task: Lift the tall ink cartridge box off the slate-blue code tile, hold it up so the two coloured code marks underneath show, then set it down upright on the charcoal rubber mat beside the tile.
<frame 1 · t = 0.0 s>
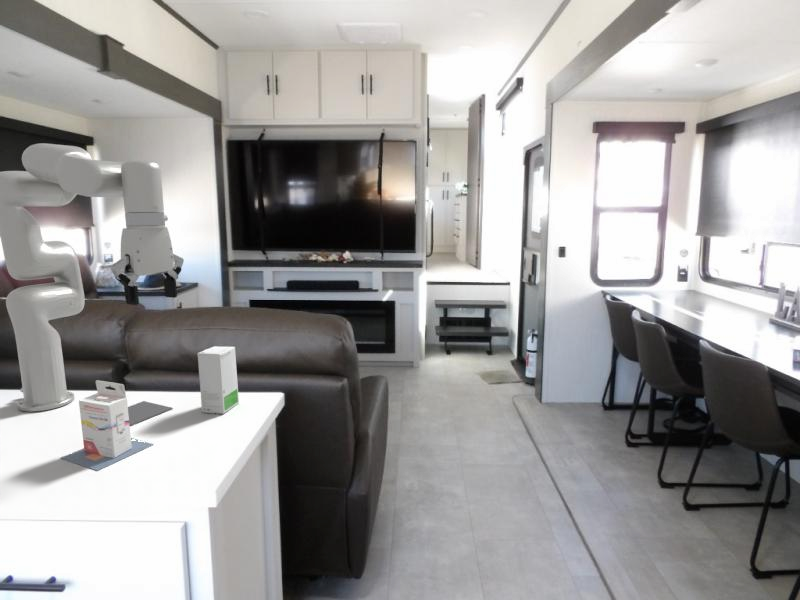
hand: (152, 300, 116), 31 cm above the table, tool pointing down, fingers open, 9 cm apart
skincare box: (220, 408, 138), on the table
ink cartridge box: (108, 451, 113), resting on code tile
code tile: (108, 451, 113), on the table
rubber mat: (137, 413, 134), on the table
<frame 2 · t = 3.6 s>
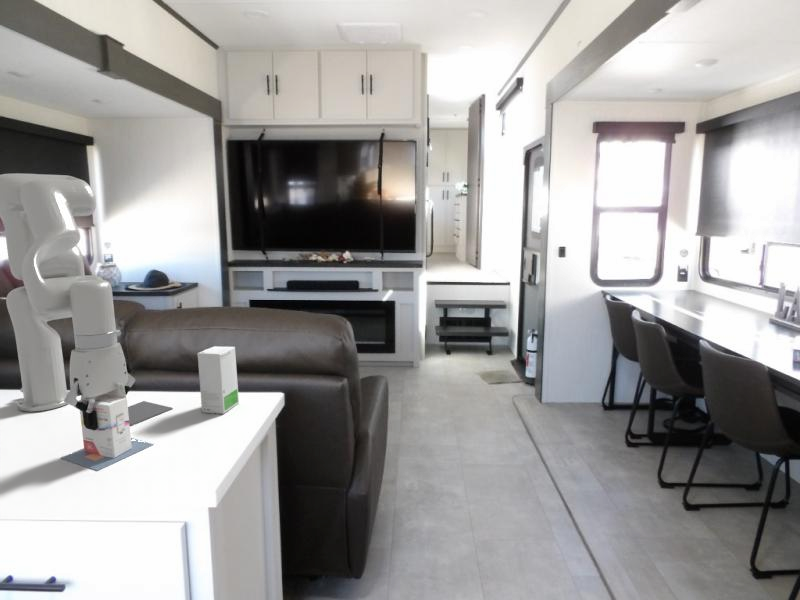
hand: (105, 422, 112), 6 cm above the table, tool pointing down, fingers closed on ink cartridge box, 5 cm apart
ink cartridge box: (108, 451, 113), resting on code tile, touching gripper
everything else where it was.
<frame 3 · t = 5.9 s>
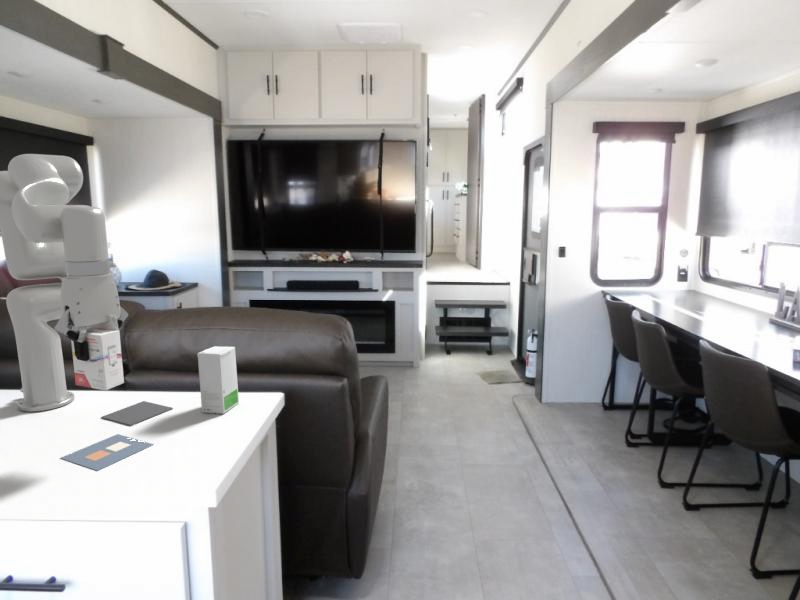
hand: (97, 355, 110), 21 cm above the table, tool pointing down, fingers closed on ink cartridge box, 5 cm apart
ink cartridge box: (100, 385, 111), point 15 cm above the table, touching gripper
everything else where it was.
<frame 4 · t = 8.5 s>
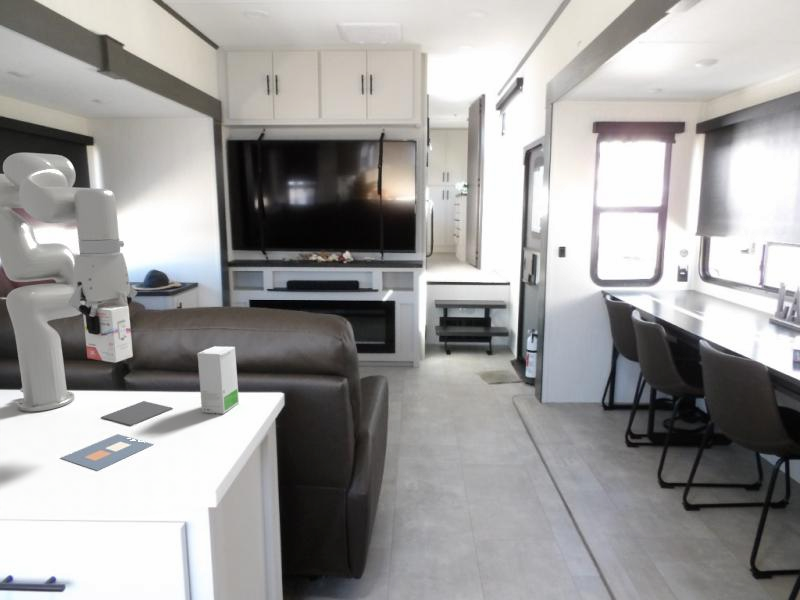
hand: (107, 329, 116), 25 cm above the table, tool pointing down, fingers closed on ink cartridge box, 5 cm apart
ink cartridge box: (110, 358, 117), point 18 cm above the table, touching gripper
everything else where it was.
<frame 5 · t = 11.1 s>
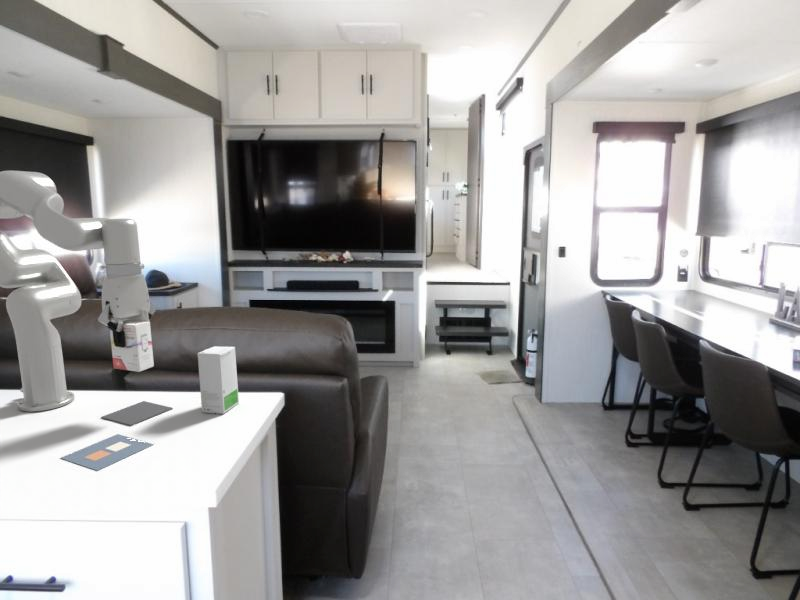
hand: (131, 343, 131), 18 cm above the table, tool pointing down, fingers closed on ink cartridge box, 5 cm apart
ink cartridge box: (134, 368, 132), point 12 cm above the table, touching gripper
everything else where it was.
when the fingers open (8 cm above the table, at t = 13.3 s): ink cartridge box drops 1 cm, resting on rubber mat.
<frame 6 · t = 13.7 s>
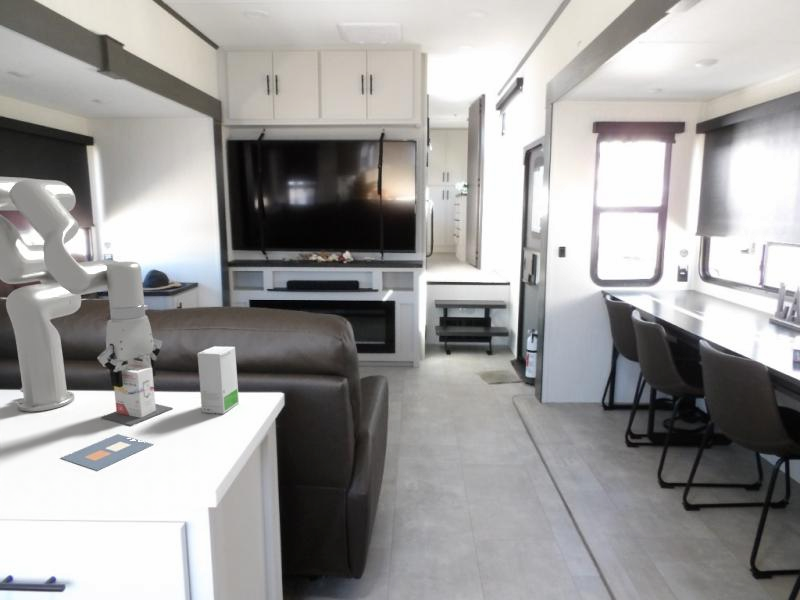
hand: (134, 380, 133), 9 cm above the table, tool pointing down, fingers open, 8 cm apart
ink cartridge box: (136, 413, 134), resting on rubber mat
everything else where it was.
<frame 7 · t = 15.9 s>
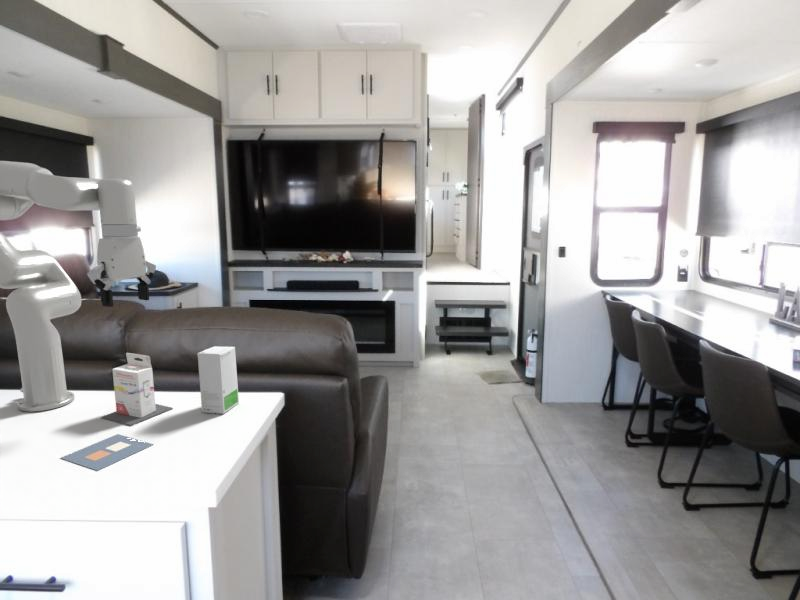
hand: (126, 302, 129), 28 cm above the table, tool pointing down, fingers open, 9 cm apart
nothing on the table moved.
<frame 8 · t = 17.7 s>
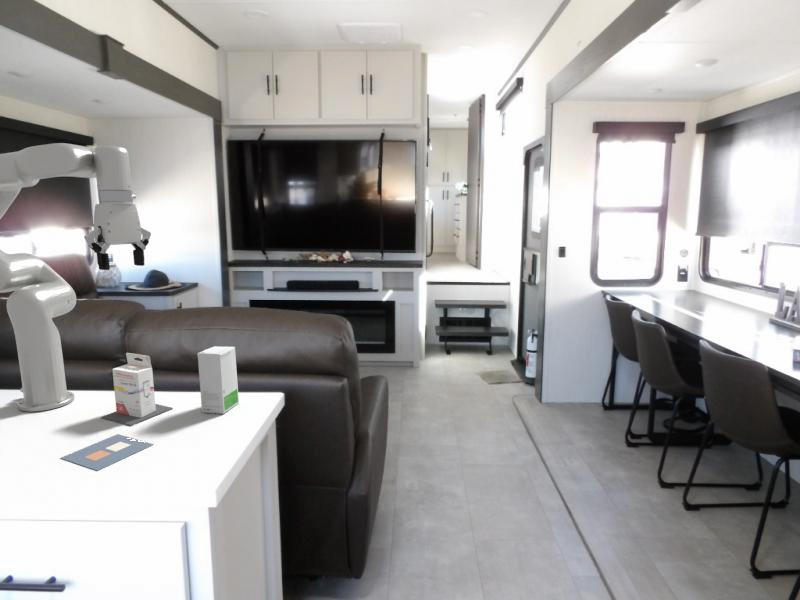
hand: (122, 267, 134), 36 cm above the table, tool pointing down, fingers open, 9 cm apart
nothing on the table moved.
at the end: ink cartridge box inside the target area on the rubber mat (0.4 cm from its centre), point 0.1 cm above the rubber mat's base; ink cartridge box tilted 0°; the gripper is holding nothing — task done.
